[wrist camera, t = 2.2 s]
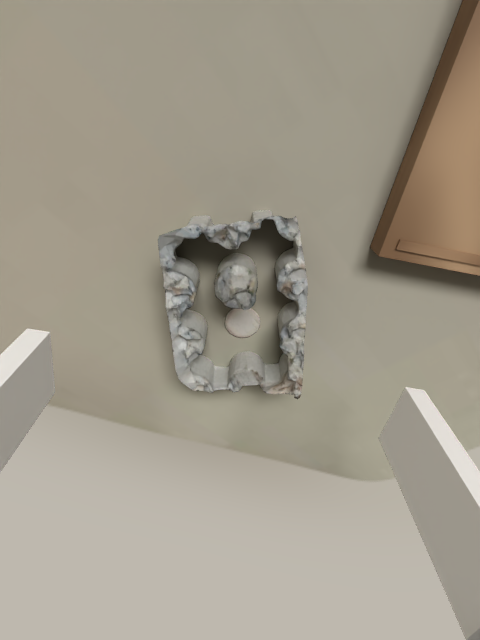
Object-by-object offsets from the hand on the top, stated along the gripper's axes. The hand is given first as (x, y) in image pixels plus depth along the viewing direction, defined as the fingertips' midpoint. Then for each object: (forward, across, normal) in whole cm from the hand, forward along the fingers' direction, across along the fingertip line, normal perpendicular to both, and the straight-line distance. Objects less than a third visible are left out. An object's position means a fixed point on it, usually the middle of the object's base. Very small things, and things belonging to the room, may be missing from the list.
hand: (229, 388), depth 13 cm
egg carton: (+10, 0, +1) cm, 10 cm away
